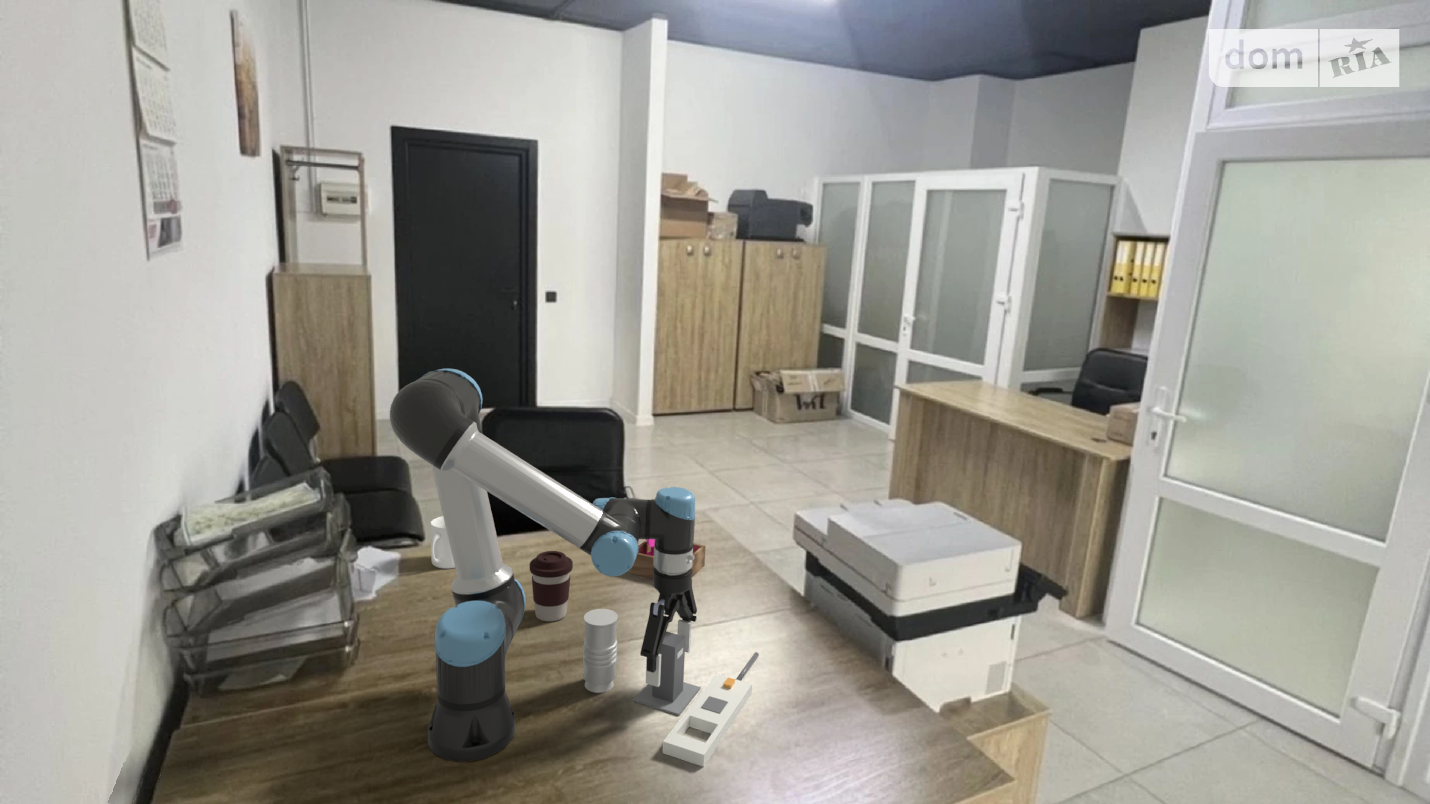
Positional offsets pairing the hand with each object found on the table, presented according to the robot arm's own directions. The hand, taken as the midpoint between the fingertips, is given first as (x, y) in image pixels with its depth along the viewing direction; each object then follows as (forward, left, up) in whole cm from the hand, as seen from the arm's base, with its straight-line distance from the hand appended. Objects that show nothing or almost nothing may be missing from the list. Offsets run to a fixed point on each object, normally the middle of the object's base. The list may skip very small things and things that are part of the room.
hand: (668, 666), depth 152 cm
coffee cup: (+16, +39, -7) cm, 43 cm away
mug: (+26, +79, -7) cm, 83 cm away
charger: (0, 0, -6) cm, 6 cm away
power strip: (+3, -11, -6) cm, 13 cm away
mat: (0, 0, -6) cm, 6 cm away
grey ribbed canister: (-3, +14, -7) cm, 16 cm away
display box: (+52, +26, -6) cm, 58 cm away
